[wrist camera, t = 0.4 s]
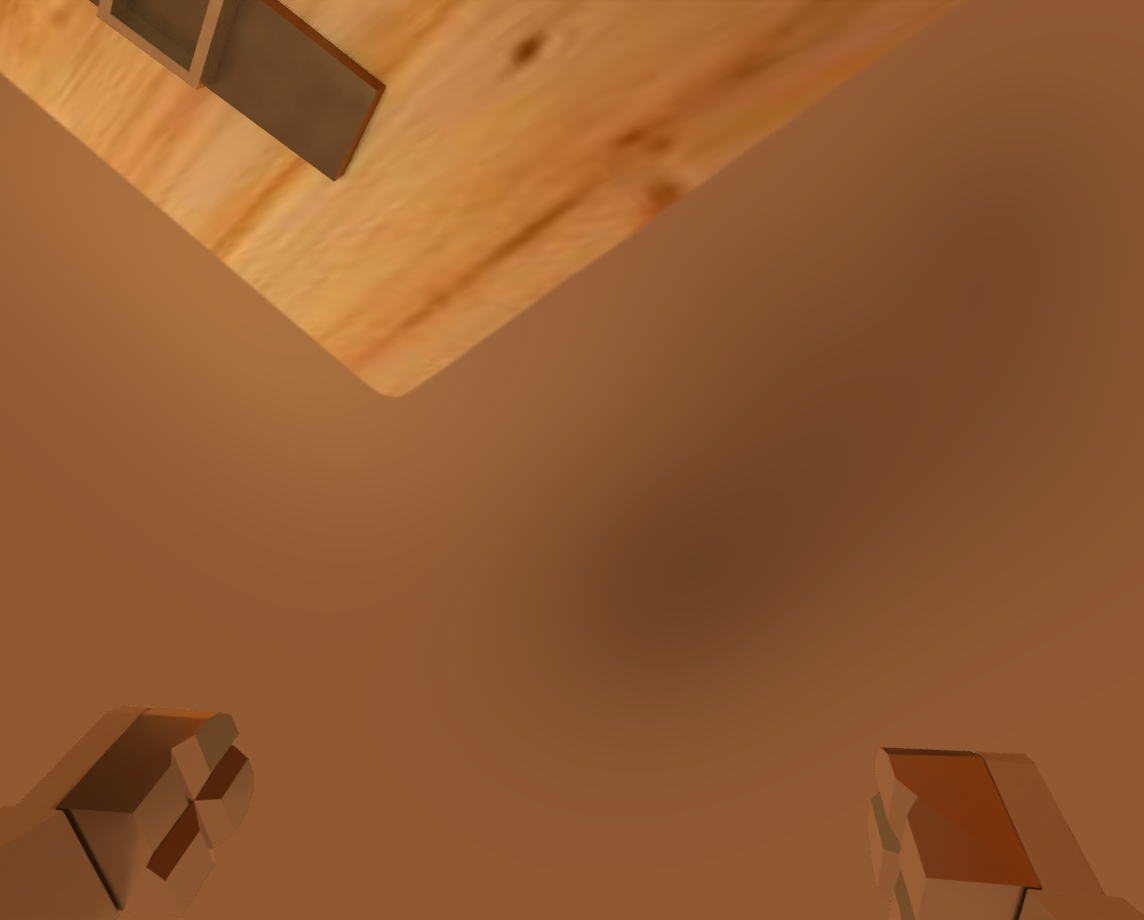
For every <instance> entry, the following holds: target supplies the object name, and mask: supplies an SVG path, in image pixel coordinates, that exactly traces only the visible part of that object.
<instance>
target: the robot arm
mask: <svg viewBox="0 0 1144 920" xmlns="http://www.w3.org/2000/svg"><path fill="white" fill-rule="evenodd" d="M238 735H239V732H238V730H237V727H236V725H235V723H234V720H233V718H232V716H231V715H229V714H225V713H220V712H209V711H198V710H186V709H174V708H161V707H142V706H129V705H121V706H119V707H116V708H114V709H112V710H110V711H107V712H106V713H105V714H104V715H103V717H102V718H101V719H100V720H99V721H98V722H97V723H96V724H95V725H94V726H93V727H92V728H91V729H90V730H89V731H88V732H87V733H86V734H85V735H84V736H83V737H82V738H81V739H80V740H79V741H78V742H77V743H76V744H75V745H74V746H73V747H72V748H71V749H70V750H69V751H68V752H67V753H66V754H65V756H64V757H63V758H62V759H61V760H60V761H59V762H58V763H57V764H56V765H55V766H54V767H53V768H52V769H51V770H50V771H49V772H48V773H47V774H46V775H45V776H44V777H43V778H42V779H41V780H40V781H39V782H38V783H37V784H36V785H35V786H34V787H33V788H32V789H31V790H30V791H29V793H27V795H25V797H24V798H23V799H22V800H21V801H20V802H19V803H18V804H17V805H16V806H3V807H1V808H0V920H116V919H117V918H119V913H118V912H121V913H136V914H149V915H163V916H177V917H183V915H184V914H185V912H186V911H187V909H188V907H189V906H190V904H191V903H192V901H193V899H194V898H195V896H196V895H197V893H198V892H199V890H200V888H201V887H202V885H203V884H204V882H205V880H206V879H207V877H208V876H209V874H210V873H211V871H212V869H213V868H214V866H215V863H214V862H215V861H214V848H216V847H217V846H218V845H220V844H221V843H223V842H224V841H225V840H227V839H228V838H229V837H231V836H232V835H234V834H235V833H236V831H237V829H238V828H239V826H240V824H241V823H242V821H243V819H244V818H245V816H246V814H247V812H248V808H249V805H250V801H251V798H252V794H253V791H254V781H253V770H252V767H251V765H250V762H249V759H248V758H247V757H246V756H245V755H244V754H243V753H242V752H241V751H239V750H238V749H237V748H236V747H235V746H234V743H235V741H236V738H237V737H238ZM874 772H875V775H876V779H877V783H878V787H879V790H880V792H879V793H877V794H876V795H875V796H874V797H873V798H871V800H870V810H869V820H868V821H869V846H870V852H871V858H872V865H873V869H874V874H875V878H876V883H877V887H878V889H879V890H880V891H881V892H882V893H883V894H884V895H885V896H886V897H887V898H888V899H889V900H890V902H891V908H890V915H889V920H1144V914H1143V913H1141V912H1140V911H1139V910H1138V909H1136V908H1135V907H1134V906H1133V905H1131V904H1130V903H1129V902H1128V901H1127V900H1125V899H1124V898H1122V897H1113V896H1106V895H1105V893H1104V891H1103V889H1102V887H1101V886H1100V884H1099V882H1098V880H1097V878H1096V876H1095V874H1094V872H1093V871H1092V869H1091V867H1090V865H1089V863H1088V861H1087V859H1086V857H1085V856H1084V854H1083V852H1082V850H1081V848H1080V846H1079V845H1078V843H1077V841H1076V839H1075V837H1074V835H1073V833H1072V831H1071V829H1070V828H1069V826H1068V824H1067V822H1066V820H1065V818H1064V816H1063V815H1062V813H1061V811H1060V809H1059V807H1058V805H1057V804H1056V801H1055V800H1054V798H1053V796H1052V794H1051V792H1050V790H1049V788H1048V787H1047V785H1046V783H1045V781H1044V779H1043V777H1042V776H1041V774H1040V772H1039V770H1038V768H1037V766H1036V764H1035V762H1034V761H1033V760H1032V759H1030V758H1029V757H1028V756H1027V755H1026V754H1017V753H996V752H975V753H973V752H971V751H956V750H933V749H910V748H886V747H881V748H880V750H879V752H878V754H877V758H876V765H875V771H874Z"/></svg>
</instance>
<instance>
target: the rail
mask: <svg viewBox="0 0 1144 920" xmlns="http://www.w3.org/2000/svg"><path fill="white" fill-rule="evenodd" d="M90 1H91V2H92V3H94V4H95V5H96V6H98V12H97V17H98V18H100V19H101V20H102V21H104V22H105V23H106V24H108V25H109V26H110V27H112V28H113V29H115V30H116V31H117V32H119V33H120V34H121V35H123V36H124V37H125V38H127V39H128V40H129V41H131V42H132V43H134V44H135V45H136V46H138V47H139V48H140V49H142V50H143V51H144V52H146V53H147V54H148V55H150V56H151V57H153V58H154V59H155V60H157V61H158V62H159V63H161V64H162V65H163V66H165V67H166V68H167V69H169V70H170V71H172V72H173V73H174V74H176V75H177V76H178V77H180V78H181V79H182V80H184V81H185V82H186V83H188V84H189V85H191V86H192V87H193V88H195V89H196V90H198V89H200V88H203V87H207V88H208V89H210V90H211V91H212V92H214V93H215V94H217V95H218V96H219V97H221V98H222V99H223V100H225V101H226V102H227V103H229V104H230V105H231V106H233V107H234V108H235V109H237V110H238V111H239V112H241V113H242V114H244V115H245V116H246V117H248V118H249V119H250V120H252V121H253V122H254V123H256V124H257V125H258V126H260V127H261V128H262V129H264V130H265V131H267V132H268V133H269V134H271V135H272V136H273V137H275V138H276V139H277V140H279V141H280V142H281V143H283V144H284V145H285V146H287V147H288V148H289V149H291V150H292V151H294V152H295V153H296V154H298V155H299V156H300V157H302V158H303V159H304V160H306V161H307V162H308V163H310V164H311V165H312V166H314V167H315V168H316V169H318V170H319V171H321V172H322V173H323V174H325V175H326V176H327V177H329V178H330V179H331V180H333V181H336V180H337V179H338V178H340V177H341V176H343V174H344V172H345V170H346V168H347V166H348V164H349V161H350V159H351V157H352V155H353V153H354V151H355V149H356V147H357V145H358V143H359V141H360V139H361V136H362V134H363V132H364V130H365V128H366V126H367V124H368V122H369V120H370V118H371V116H372V114H373V111H374V109H375V107H376V105H377V103H378V101H379V99H380V97H381V95H382V93H383V91H384V88H385V85H383V84H382V83H381V82H380V81H378V80H377V79H376V78H375V77H373V76H372V75H371V74H369V73H368V72H367V71H366V70H364V69H363V68H362V67H361V66H359V65H358V64H357V63H356V62H354V61H353V60H352V59H350V58H349V57H348V56H347V55H345V54H344V53H343V52H342V51H340V50H339V49H338V48H337V47H335V46H334V45H333V44H332V43H330V42H329V41H328V40H326V39H325V38H324V37H323V36H321V35H320V34H319V33H318V32H316V31H315V30H314V29H313V28H311V27H310V26H309V25H308V24H306V23H305V22H304V21H302V20H301V19H300V18H299V17H297V16H296V15H295V14H294V13H292V12H291V11H290V10H289V9H287V8H286V7H285V6H284V5H282V4H281V3H280V2H278V1H277V0H90Z"/></svg>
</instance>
